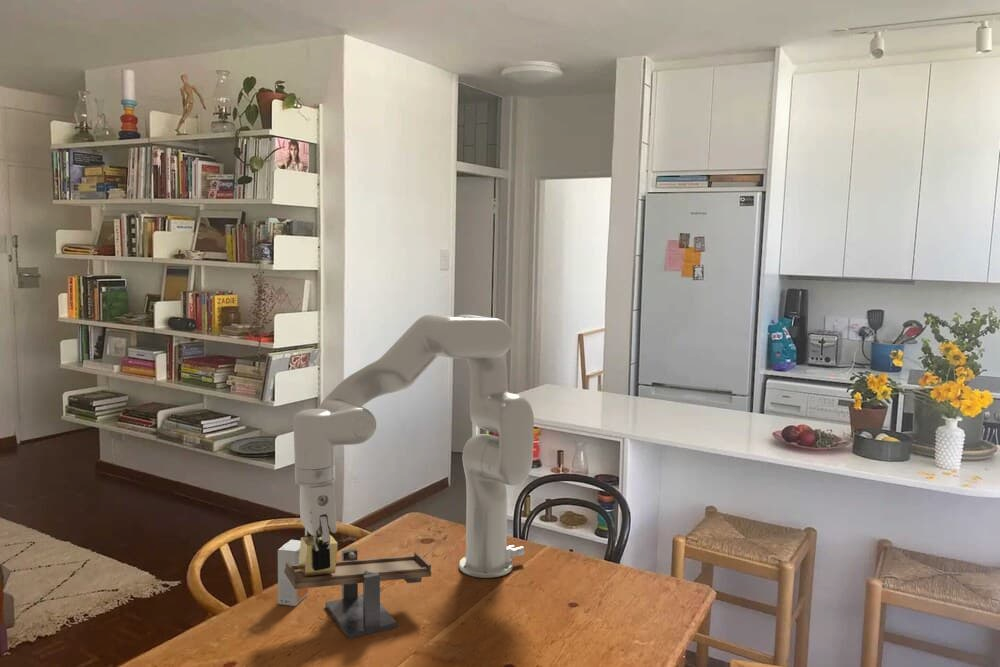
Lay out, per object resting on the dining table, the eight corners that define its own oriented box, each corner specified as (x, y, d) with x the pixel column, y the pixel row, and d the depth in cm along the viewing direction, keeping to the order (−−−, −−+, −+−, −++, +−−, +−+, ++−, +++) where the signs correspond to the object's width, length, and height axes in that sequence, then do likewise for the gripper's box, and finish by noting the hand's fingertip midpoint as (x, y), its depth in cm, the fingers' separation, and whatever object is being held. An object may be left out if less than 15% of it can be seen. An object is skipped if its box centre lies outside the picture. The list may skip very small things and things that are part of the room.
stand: (371, 597, 167) (371, 545, 166) (397, 627, 154) (397, 571, 153) (325, 606, 162) (325, 553, 161) (348, 639, 149) (347, 581, 148)
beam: (411, 566, 169) (413, 547, 169) (433, 586, 159) (435, 566, 159) (281, 577, 155) (283, 556, 155) (296, 600, 145) (298, 578, 145)
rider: (328, 564, 156) (331, 535, 156) (335, 573, 152) (337, 543, 152) (298, 567, 153) (301, 537, 153) (304, 576, 149) (307, 545, 149)
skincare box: (296, 606, 162) (295, 551, 161) (277, 604, 163) (276, 549, 162) (309, 594, 168) (308, 540, 167) (291, 592, 169) (290, 539, 168)
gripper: (347, 482, 145) (349, 576, 147) (322, 459, 160) (324, 545, 162) (307, 488, 141) (310, 584, 144) (285, 465, 156) (288, 552, 158)
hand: (317, 562), depth 153 cm, fingers closed on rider, 4 cm apart
